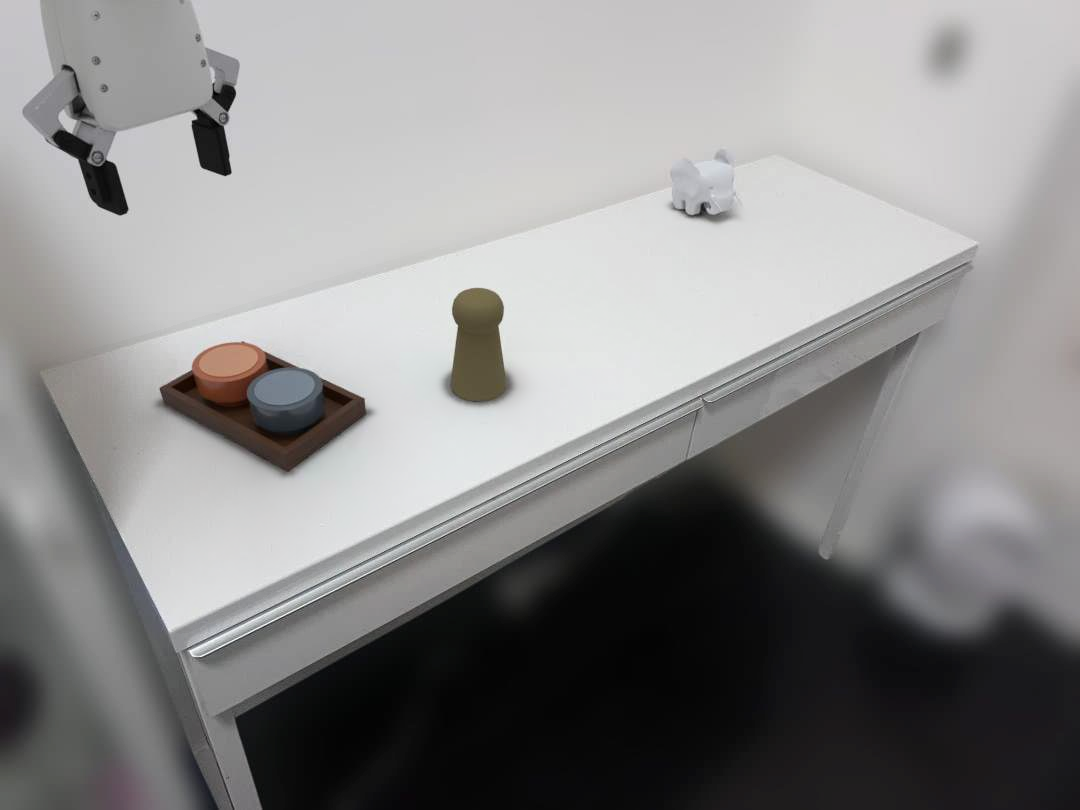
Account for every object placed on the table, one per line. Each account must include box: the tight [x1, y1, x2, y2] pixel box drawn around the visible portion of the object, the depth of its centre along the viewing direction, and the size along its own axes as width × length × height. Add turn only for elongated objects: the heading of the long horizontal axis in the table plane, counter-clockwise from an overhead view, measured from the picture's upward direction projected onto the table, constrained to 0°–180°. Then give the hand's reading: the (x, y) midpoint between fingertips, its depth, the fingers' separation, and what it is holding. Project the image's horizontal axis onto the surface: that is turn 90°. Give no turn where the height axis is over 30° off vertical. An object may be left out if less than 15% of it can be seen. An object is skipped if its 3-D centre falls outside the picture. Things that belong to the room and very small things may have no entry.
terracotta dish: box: [191, 341, 269, 407], centre depth 82 cm, size 7×7×4 cm
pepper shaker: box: [449, 287, 507, 403], centre depth 83 cm, size 6×6×11 cm
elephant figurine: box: [668, 146, 743, 216], centre depth 122 cm, size 10×12×9 cm
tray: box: [158, 341, 367, 472], centre depth 81 cm, size 11×18×2 cm, turn 57°
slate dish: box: [247, 367, 325, 435], centre depth 78 cm, size 7×7×4 cm
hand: (167, 189), depth 64 cm, fingers open, 9 cm apart
